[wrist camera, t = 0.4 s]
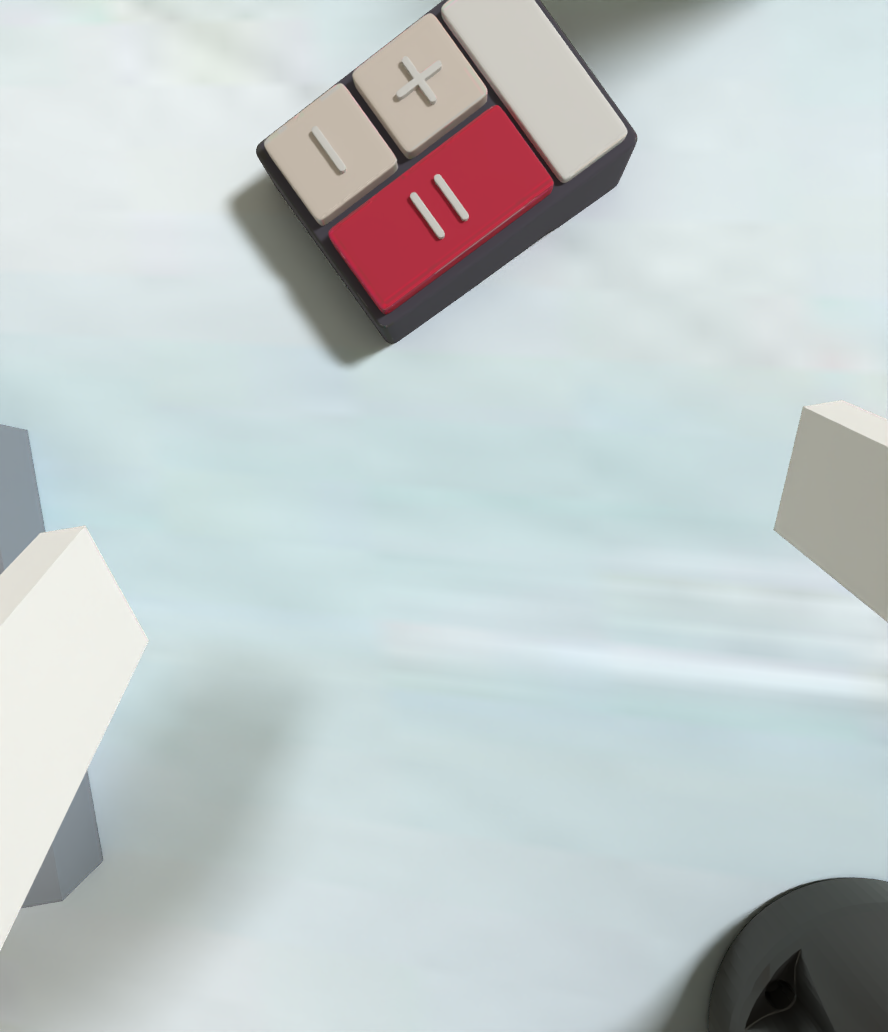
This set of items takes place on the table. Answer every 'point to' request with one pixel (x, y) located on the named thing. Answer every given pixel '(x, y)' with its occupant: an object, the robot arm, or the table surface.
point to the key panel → (76, 847)
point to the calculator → (448, 156)
